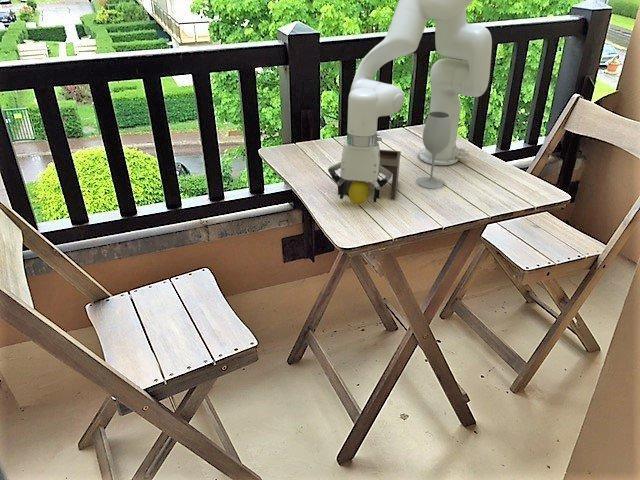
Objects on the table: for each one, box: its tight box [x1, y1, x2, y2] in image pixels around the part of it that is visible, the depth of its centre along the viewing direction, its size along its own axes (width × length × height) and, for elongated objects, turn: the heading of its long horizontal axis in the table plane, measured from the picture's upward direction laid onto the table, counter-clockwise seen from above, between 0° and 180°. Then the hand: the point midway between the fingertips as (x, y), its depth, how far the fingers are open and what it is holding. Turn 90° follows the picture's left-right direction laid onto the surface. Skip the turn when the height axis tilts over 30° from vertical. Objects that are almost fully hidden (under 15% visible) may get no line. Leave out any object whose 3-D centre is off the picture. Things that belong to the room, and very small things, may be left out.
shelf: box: [344, 149, 402, 201], centre depth 151 cm, size 15×11×10 cm
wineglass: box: [417, 111, 451, 190], centre depth 152 cm, size 8×8×21 cm
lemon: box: [348, 180, 370, 207], centre depth 143 cm, size 6×6×8 cm
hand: (358, 198), depth 144 cm, fingers open, 8 cm apart
